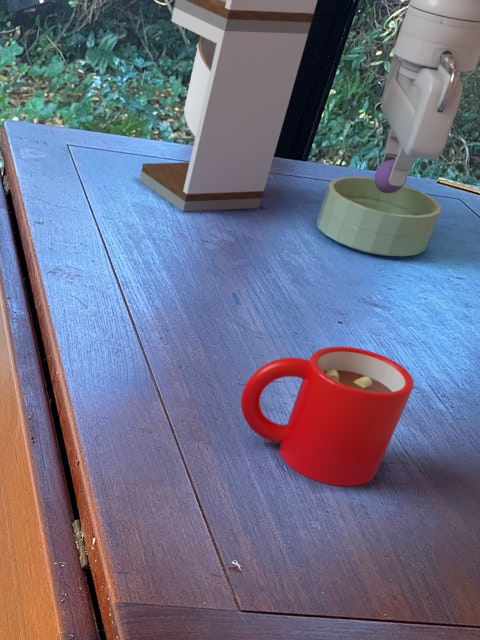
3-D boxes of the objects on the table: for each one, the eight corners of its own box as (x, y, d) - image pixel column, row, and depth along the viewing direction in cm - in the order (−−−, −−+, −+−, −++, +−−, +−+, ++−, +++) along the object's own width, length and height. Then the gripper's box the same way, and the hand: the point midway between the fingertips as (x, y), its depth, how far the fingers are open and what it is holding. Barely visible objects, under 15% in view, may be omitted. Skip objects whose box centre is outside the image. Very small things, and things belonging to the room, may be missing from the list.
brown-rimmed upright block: (213, 178, 132) (295, -158, 108) (259, 207, 125) (357, -144, 101) (139, 180, 128) (208, -169, 104) (182, 211, 121) (267, -155, 97)
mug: (231, 414, 84) (257, 327, 79) (373, 444, 83) (409, 357, 78) (226, 462, 78) (255, 371, 73) (379, 494, 77) (419, 404, 72)
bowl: (414, 228, 126) (430, 187, 123) (433, 267, 116) (451, 224, 113) (310, 211, 126) (323, 169, 123) (321, 249, 116) (335, 205, 113)
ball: (397, 190, 119) (409, 158, 116) (402, 200, 116) (414, 167, 114) (368, 185, 119) (379, 153, 117) (372, 194, 116) (383, 162, 114)
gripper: (490, 70, 99) (434, 211, 109) (450, 29, 115) (404, 156, 124) (427, 59, 100) (377, 202, 109) (396, 20, 115) (353, 148, 124)
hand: (391, 177), depth 116 cm, fingers closed on ball, 3 cm apart
